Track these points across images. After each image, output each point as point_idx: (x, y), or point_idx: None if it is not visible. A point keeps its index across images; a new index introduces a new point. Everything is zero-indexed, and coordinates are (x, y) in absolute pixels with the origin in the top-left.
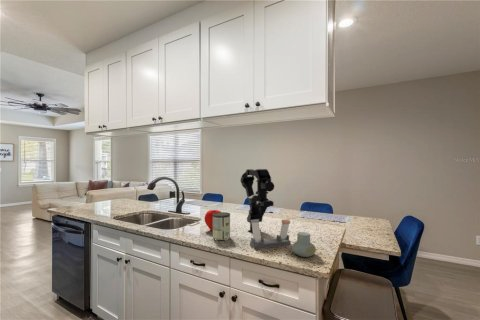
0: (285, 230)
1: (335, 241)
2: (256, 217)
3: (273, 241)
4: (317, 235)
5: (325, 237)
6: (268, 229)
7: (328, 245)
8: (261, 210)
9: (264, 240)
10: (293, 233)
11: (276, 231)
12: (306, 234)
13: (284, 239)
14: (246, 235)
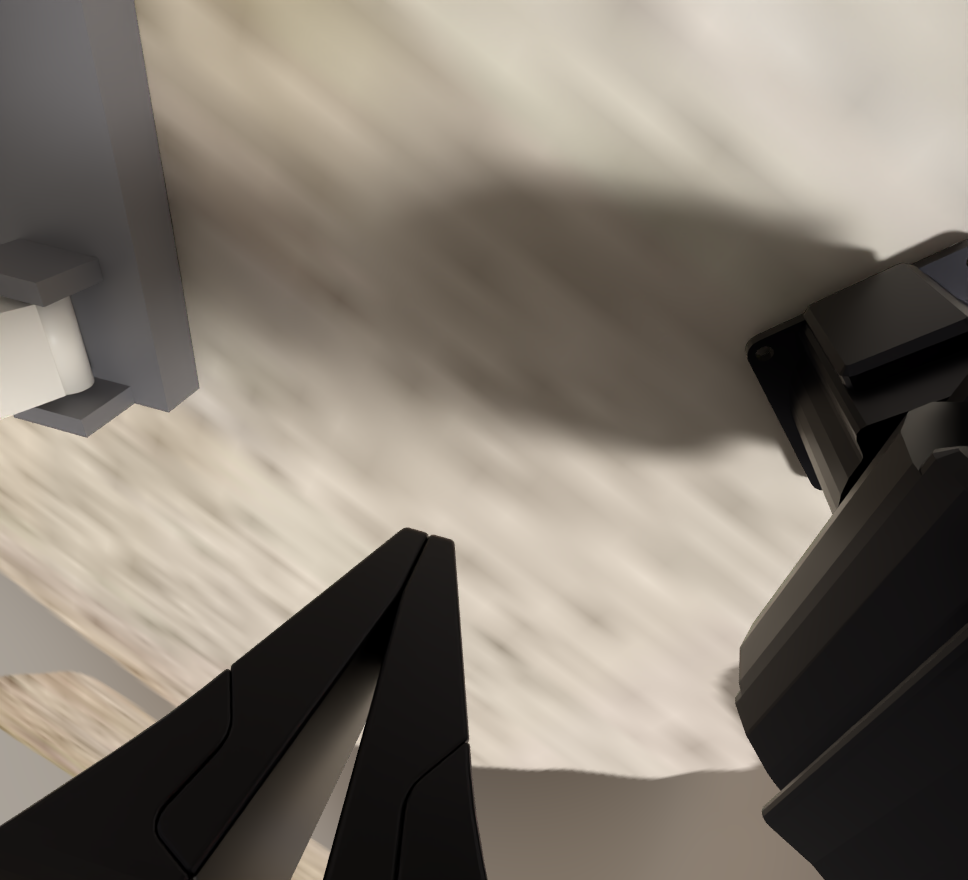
0: None
1: (131, 665)
2: (826, 537)
3: (7, 145)
4: None
5: None
6: (769, 596)
7: (44, 575)
8: (195, 696)
9: (65, 18)
10: None
11: (610, 595)
12: None
13: (96, 357)
14: (795, 11)
